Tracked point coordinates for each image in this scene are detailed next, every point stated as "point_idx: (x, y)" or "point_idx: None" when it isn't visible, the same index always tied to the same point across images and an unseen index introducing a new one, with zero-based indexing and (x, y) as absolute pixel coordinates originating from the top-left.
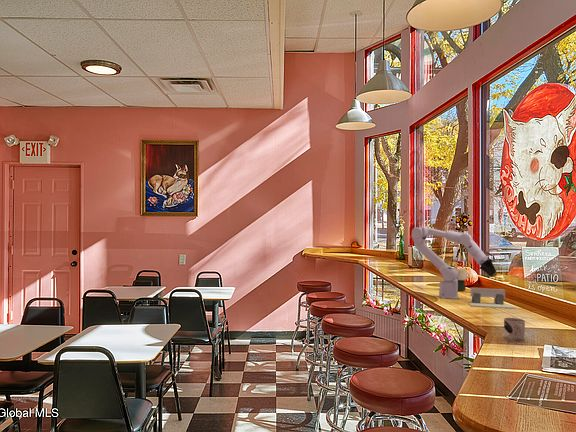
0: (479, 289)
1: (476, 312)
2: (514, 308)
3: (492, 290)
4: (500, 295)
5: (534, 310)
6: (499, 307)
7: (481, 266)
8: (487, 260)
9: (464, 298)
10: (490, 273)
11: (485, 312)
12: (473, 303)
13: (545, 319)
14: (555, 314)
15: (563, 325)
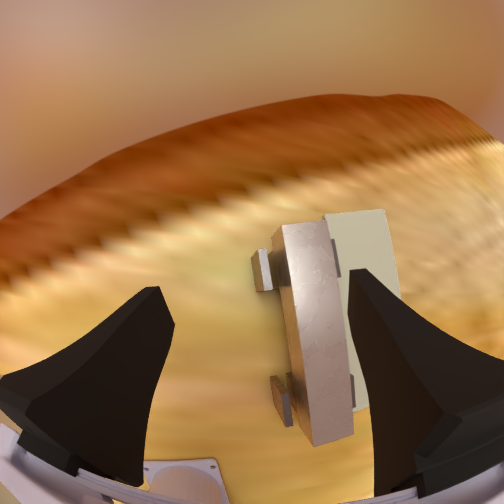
0: (350, 391)
1: (483, 350)
2: (382, 211)
3: (338, 308)
4: (337, 258)
5: (370, 141)
6: (395, 275)
7: (123, 474)
8: (498, 435)
9: (170, 433)
10: (159, 331)
11: (478, 325)
12: (362, 391)
13: (478, 164)
14: (400, 103)
15: (500, 151)
